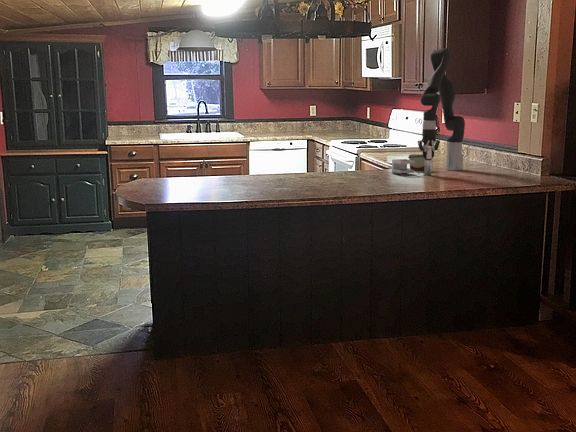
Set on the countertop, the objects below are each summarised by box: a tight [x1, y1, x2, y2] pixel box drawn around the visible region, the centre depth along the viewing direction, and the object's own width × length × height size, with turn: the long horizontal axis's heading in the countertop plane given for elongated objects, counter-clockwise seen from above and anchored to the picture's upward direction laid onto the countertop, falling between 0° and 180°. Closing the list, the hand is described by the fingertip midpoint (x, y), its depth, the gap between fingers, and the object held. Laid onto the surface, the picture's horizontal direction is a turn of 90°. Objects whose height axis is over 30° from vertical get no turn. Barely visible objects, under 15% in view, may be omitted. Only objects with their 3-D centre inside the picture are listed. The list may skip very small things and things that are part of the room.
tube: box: [423, 147, 433, 177], centre depth 378 cm, size 4×4×16 cm
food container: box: [407, 153, 425, 172], centre depth 400 cm, size 12×6×10 cm, turn 84°
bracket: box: [390, 158, 415, 175], centre depth 384 cm, size 9×13×8 cm
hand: (428, 157), depth 378 cm, fingers open, 4 cm apart
